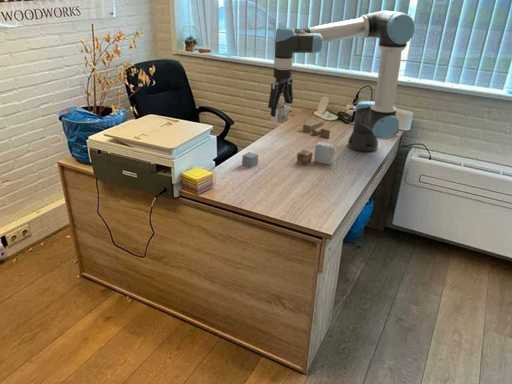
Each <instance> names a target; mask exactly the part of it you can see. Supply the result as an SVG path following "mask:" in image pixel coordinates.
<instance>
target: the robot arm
mask: <svg viewBox="0 0 512 384" xmlns="http://www.w3.org/2000/svg"><path fill="white" fill-rule="evenodd" d="M415 31H416V25H415V22H414V19H413V18H412V17H411V16H410V15H409V14H407V13H404V12H402V11H401V12H400V11H392V10H381V11H376V12H371V13H368V14H367V13H366V14H362V15H360V17H359V18H354V19H348V20H343V21H337V22H332V23H325V24H322V25H320V24H319V25H316V26H310V27H303V28H293V27H278V28H276V31H275V35H274V36H275V38H274V59H273V62H274V63H273V67H274V68H273V78H275V82H274V83H271V85H270V94H269V100H268V105H267V108H269V109H271V110H270V111H271V112H270V113H271V114H270V124H274V125H278V121H277V115H278V109H277V105H278V104H279V101H280V98H281V95H282V96H283V99H284V103H285V105H286V106H287V108H288V109H289V110H290V106H291V104H293V101H294V94H293V91H294V90H293V79H292V76H293V75H292V74H293V73H292V72H293V70H292V68H293V57H294V54H314V53H316V54H317V53H320V52H321V51H322V48H323V44H326V43H330V42H337V41H342V40H347V39H354V38H358V37H359V38H360V37H362V38H363V39H367V38H378V39H379V40H378V41H379V42H378V47H379V48H380V50H381V52H380V53H381V54H380V60H379V68H378V75H377V84H376V90H375V97H374V100H373V101H369V100H367V101H366V100H363V101H359V102H358V103H357V104H356V107H355V113H354V121H353V127H352V132H351V134H350V135H349V138H348V140H347V147H349V149H352V150H354V151H358V152H365V153H368V152H374V151H376V150H378V148H379V139H382V140H384V139H385V140H386V139H389V138H391V137H393V135H395V134H396V133H397V132H398V129H399V126H400V121H399V119H398V117H397V116H396V115H397V110H398V109H397V107H396V106H395V99H396V92H397V88H398V87H397V86H398V81H399V80H398V79H399V74H400V68H401V61H402V56H403V51H404V50H405V49H406V48H407V47H408V42H410V41H411V39H412V38H413V37H414V35H415ZM287 119H290V114H289V115H288V117H287ZM378 138H379V139H378Z"/></svg>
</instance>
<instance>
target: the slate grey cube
mask: <svg viewBox="0 0 512 384" xmlns="http://www.w3.org/2000/svg"><path fill="white" fill-rule="evenodd" d="M241 160H242V163H241V165H242V167H246V168H250V169H253V168H255V167H256V166H258V165H259V164H258V163H259V154H257V153H253V152H250V151H249V152H247V153H244V154H243V155H242V159H241Z"/></svg>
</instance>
